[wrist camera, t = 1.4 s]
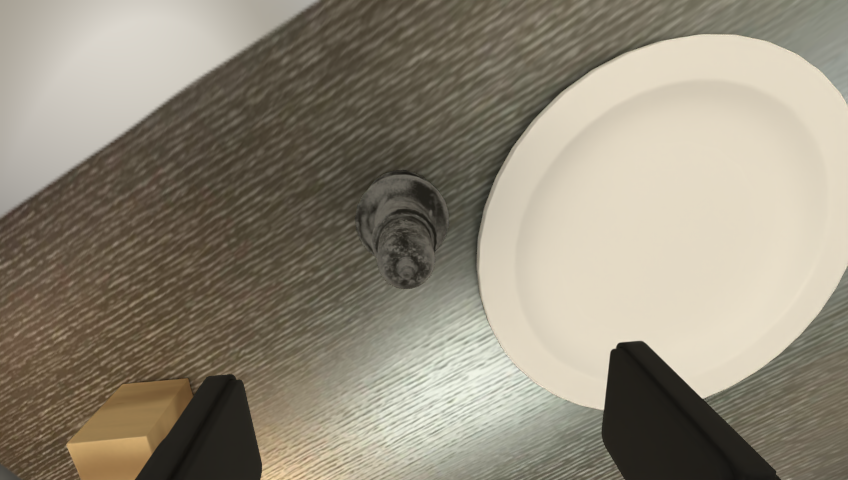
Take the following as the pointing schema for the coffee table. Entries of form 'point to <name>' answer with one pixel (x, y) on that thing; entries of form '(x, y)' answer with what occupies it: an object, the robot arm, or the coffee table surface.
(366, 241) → the grey chess bishop
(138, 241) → the coffee table surface
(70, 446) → the maple block
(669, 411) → the robot arm
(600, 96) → the plate
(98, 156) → the coffee table surface
